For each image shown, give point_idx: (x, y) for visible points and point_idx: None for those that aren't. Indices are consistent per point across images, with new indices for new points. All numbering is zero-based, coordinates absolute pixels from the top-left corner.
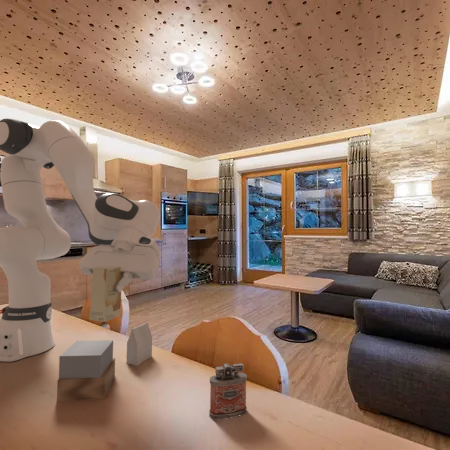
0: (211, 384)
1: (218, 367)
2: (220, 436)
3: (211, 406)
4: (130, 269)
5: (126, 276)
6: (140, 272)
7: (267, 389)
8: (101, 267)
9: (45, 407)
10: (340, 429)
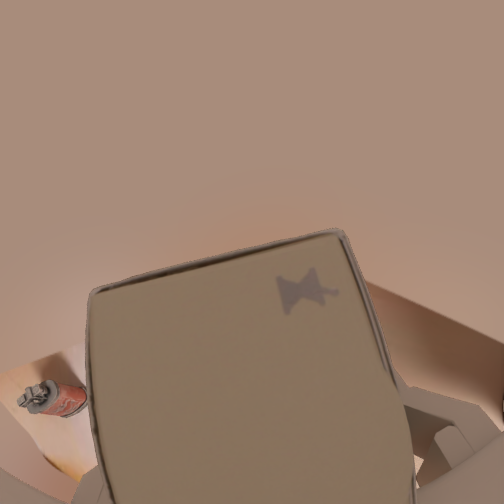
0: (56, 382)
1: (36, 390)
2: (72, 359)
3: (78, 389)
4: (38, 501)
5: (91, 475)
6: (1, 468)
7: (52, 460)
8: (241, 304)
9: None
10: (5, 391)
